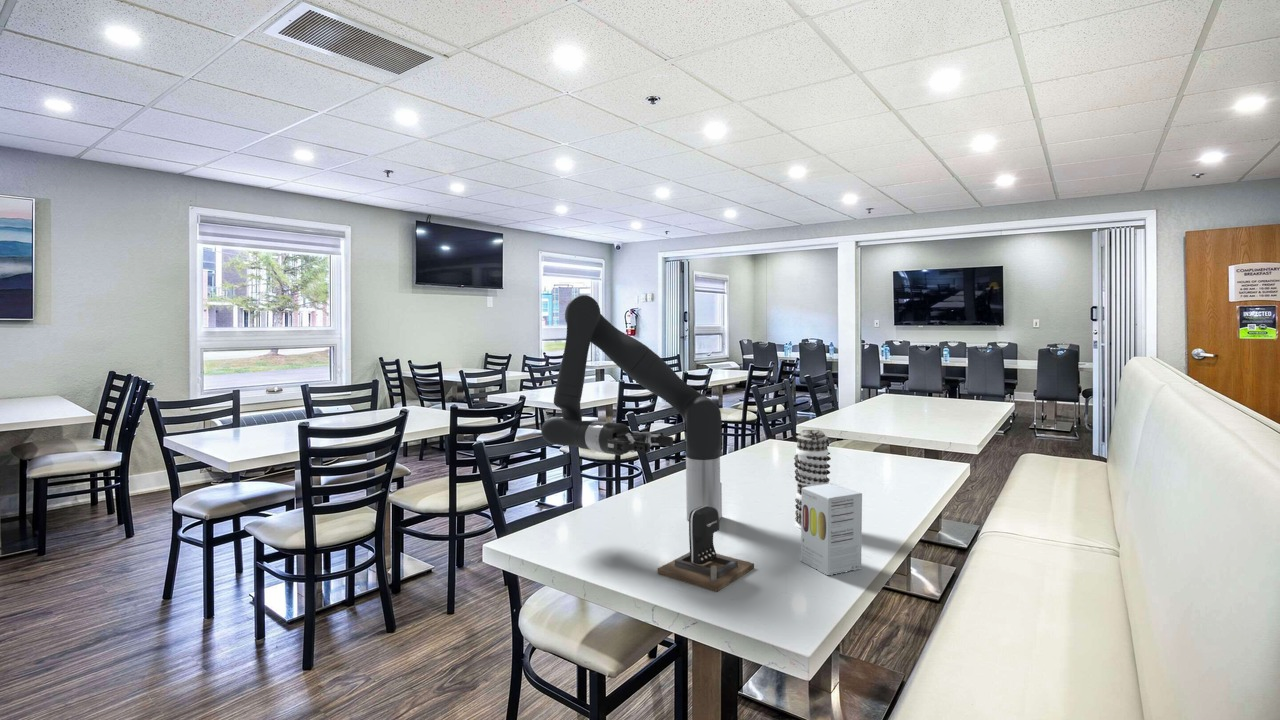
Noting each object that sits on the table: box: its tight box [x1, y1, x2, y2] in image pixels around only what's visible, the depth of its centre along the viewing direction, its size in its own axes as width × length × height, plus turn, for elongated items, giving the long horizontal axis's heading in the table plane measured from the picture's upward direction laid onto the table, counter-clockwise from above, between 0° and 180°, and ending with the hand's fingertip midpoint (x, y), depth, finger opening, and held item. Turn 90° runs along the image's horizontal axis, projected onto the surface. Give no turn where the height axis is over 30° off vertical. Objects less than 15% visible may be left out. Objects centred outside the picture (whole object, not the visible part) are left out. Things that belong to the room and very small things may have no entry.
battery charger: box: [688, 506, 720, 564], centre depth 132 cm, size 7×4×11 cm, turn 138°
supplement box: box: [800, 482, 863, 576], centre depth 134 cm, size 10×9×17 cm
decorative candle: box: [793, 429, 831, 530], centre depth 159 cm, size 9×9×25 cm
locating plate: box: [656, 551, 755, 593], centre depth 132 cm, size 15×15×4 cm
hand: (661, 444), depth 138 cm, fingers open, 8 cm apart
